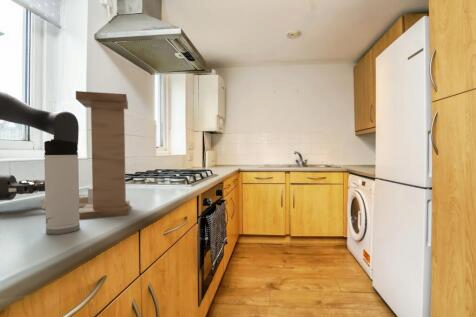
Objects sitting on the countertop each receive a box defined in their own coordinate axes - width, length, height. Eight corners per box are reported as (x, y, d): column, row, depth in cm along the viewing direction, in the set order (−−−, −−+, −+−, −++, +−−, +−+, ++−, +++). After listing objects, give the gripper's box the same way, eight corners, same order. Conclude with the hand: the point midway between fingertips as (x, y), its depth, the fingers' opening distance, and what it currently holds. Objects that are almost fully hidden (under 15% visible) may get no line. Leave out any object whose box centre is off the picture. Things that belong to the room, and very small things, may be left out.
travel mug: (40, 236, 56) (37, 139, 56) (52, 227, 63) (50, 140, 62) (74, 233, 58) (72, 139, 57) (83, 225, 64) (81, 140, 64)
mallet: (46, 206, 88) (46, 188, 88) (111, 202, 95) (110, 185, 95) (39, 210, 82) (38, 190, 82) (109, 206, 88) (108, 187, 88)
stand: (87, 208, 84) (85, 100, 83) (129, 205, 88) (127, 102, 87) (78, 218, 71) (75, 91, 70) (128, 214, 75) (126, 94, 74)
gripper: (-20, 177, 74) (50, 175, 80) (4, 173, 87) (63, 172, 93) (-19, 205, 74) (51, 201, 80) (4, 197, 87) (63, 194, 93)
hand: (57, 185), depth 86 cm, fingers open, 8 cm apart
